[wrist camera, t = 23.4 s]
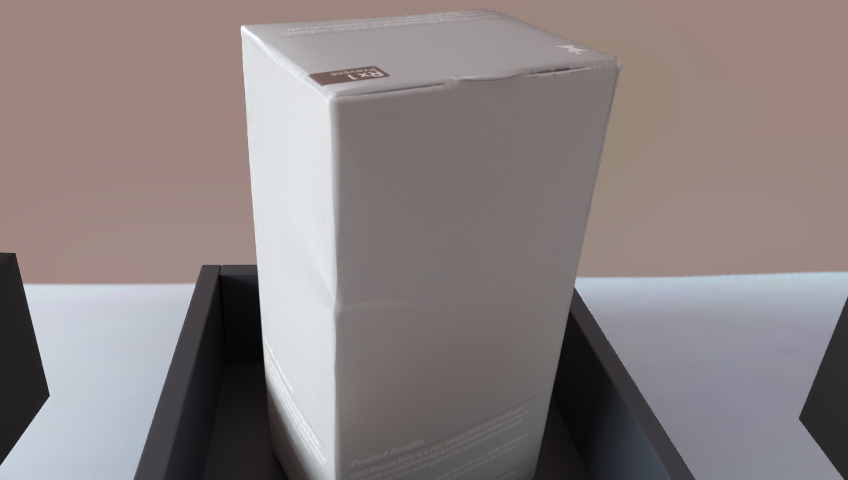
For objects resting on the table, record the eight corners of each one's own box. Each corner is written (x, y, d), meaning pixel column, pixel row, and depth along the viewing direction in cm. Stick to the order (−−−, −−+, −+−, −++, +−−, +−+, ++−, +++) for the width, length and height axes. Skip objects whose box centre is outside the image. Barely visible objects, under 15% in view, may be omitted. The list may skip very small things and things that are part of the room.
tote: (542, 356, 33) (559, 261, 31) (697, 688, 19) (749, 563, 17) (211, 366, 31) (201, 264, 28) (122, 749, 17) (89, 615, 15)
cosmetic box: (445, 384, 29) (483, 2, 22) (551, 501, 24) (647, 47, 17) (254, 448, 25) (225, 6, 18) (330, 605, 20) (333, 68, 13)
